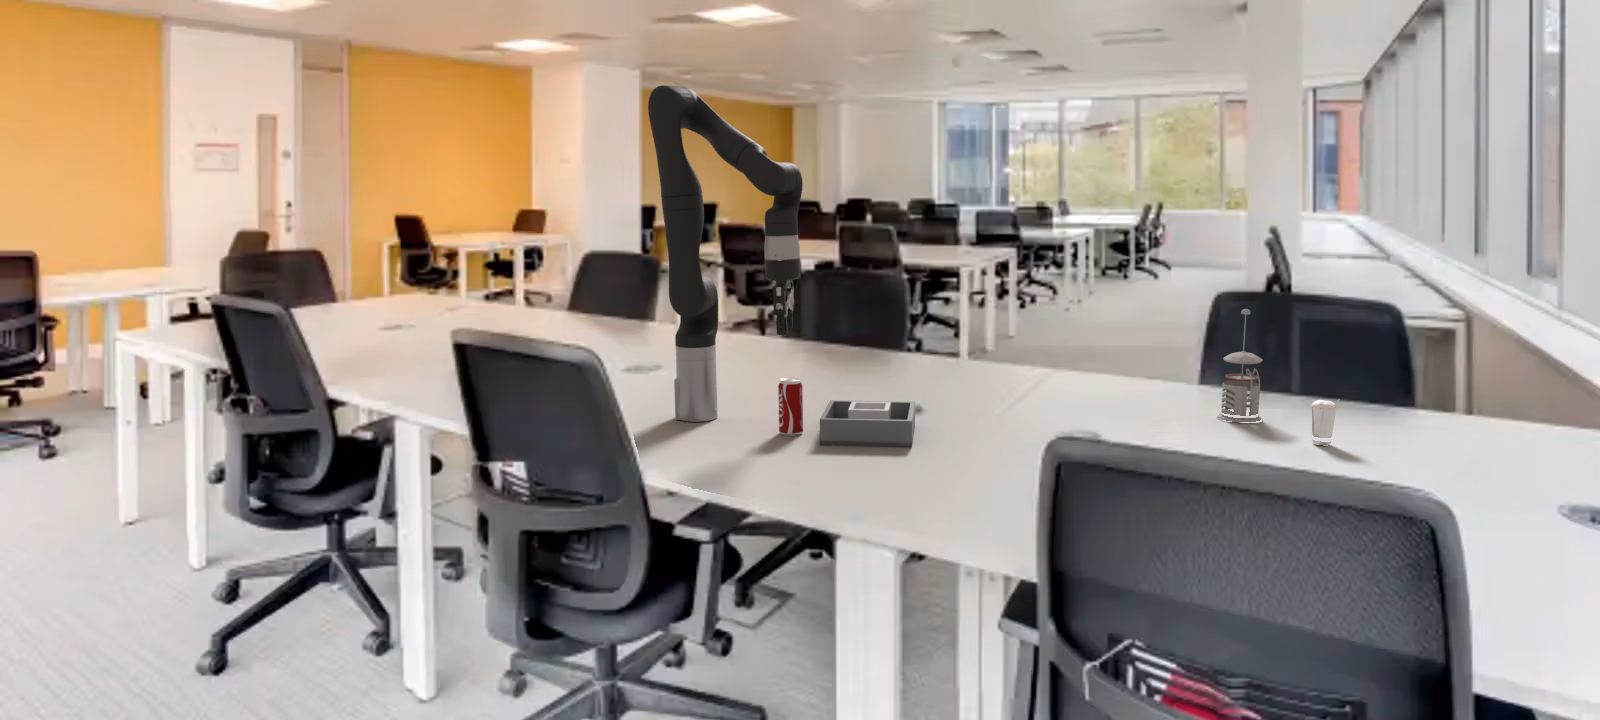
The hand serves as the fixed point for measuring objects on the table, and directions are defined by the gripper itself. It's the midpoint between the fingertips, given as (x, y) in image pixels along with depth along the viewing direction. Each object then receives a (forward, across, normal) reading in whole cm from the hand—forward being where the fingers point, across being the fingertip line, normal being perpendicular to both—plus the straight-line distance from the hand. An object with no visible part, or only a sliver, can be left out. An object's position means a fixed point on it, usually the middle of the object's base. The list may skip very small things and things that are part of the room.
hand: (784, 331), depth 223 cm
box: (+22, +3, +18) cm, 29 cm away
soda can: (+22, +2, +1) cm, 22 cm away
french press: (+24, -18, +100) cm, 105 cm away
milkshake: (+24, +4, +110) cm, 113 cm away
